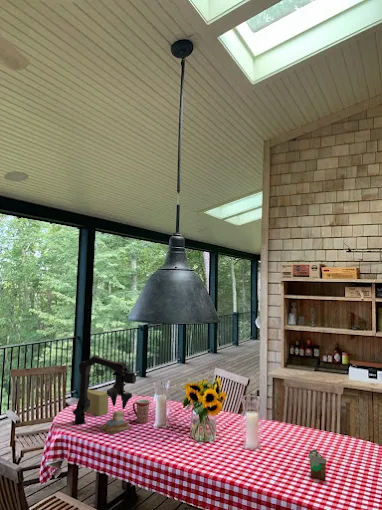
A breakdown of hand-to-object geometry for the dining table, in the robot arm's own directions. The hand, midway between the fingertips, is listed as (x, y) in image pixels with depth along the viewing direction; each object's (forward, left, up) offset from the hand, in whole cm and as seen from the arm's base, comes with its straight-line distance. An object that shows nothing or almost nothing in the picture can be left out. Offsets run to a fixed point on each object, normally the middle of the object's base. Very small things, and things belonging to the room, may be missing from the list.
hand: (118, 407), depth 255 cm
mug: (+1, +18, -13) cm, 22 cm away
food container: (+121, +22, -13) cm, 124 cm away
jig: (0, -3, -12) cm, 13 cm away
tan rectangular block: (0, 0, -7) cm, 7 cm away
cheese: (-38, +8, -13) cm, 41 cm away
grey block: (0, -2, -12) cm, 12 cm away
